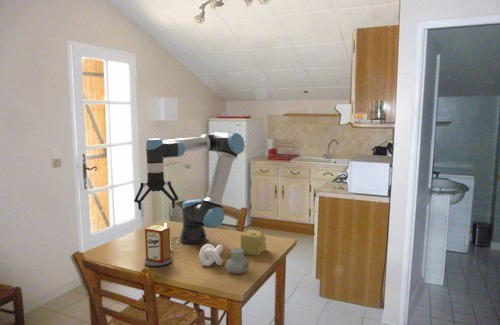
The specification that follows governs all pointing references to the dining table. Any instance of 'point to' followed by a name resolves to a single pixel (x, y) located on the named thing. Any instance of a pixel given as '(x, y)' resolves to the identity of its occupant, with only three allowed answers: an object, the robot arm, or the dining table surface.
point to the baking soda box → (157, 243)
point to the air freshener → (237, 262)
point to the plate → (157, 262)
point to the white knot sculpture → (210, 255)
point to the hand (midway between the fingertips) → (157, 215)
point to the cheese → (253, 242)
